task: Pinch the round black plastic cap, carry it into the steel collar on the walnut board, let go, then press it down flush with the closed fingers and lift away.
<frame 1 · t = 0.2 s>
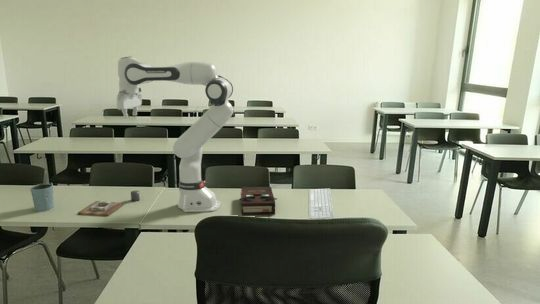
hand: (130, 116, 196), 47 cm above the table, tool pointing down, fingers open, 8 cm apart
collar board: (101, 209, 196), on the table
keyboard: (320, 205, 208), on the table
blue cup: (44, 208, 197), on the table
black cap: (135, 200, 210), on the table
decorative book: (257, 206, 204), on the table
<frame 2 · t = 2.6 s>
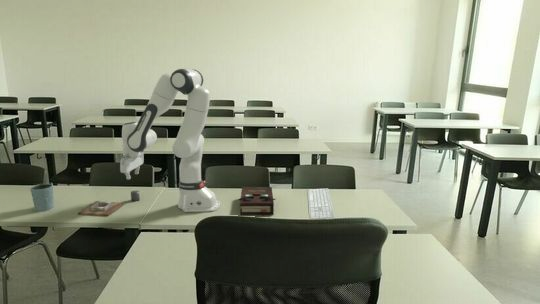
hand: (132, 176, 207), 14 cm above the table, tool pointing down, fingers open, 8 cm apart
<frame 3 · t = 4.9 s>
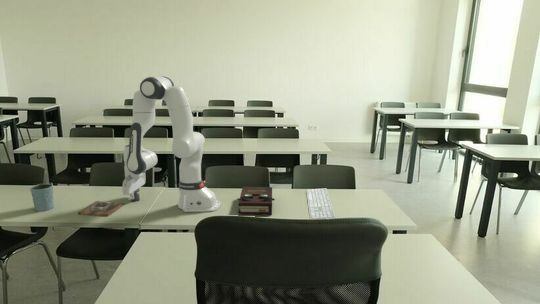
hand: (135, 197, 209), 2 cm above the table, tool pointing down, fingers closed on black cap, 4 cm apart
black cap: (135, 200, 210), on the table, touching gripper
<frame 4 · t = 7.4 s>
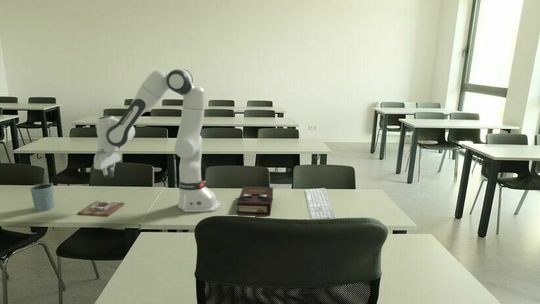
hand: (108, 173, 197), 18 cm above the table, tool pointing down, fingers closed on black cap, 4 cm apart
black cap: (109, 176, 197), point 16 cm above the table, touching gripper
when the fingers open (4 cm above the table, at t = 10.1 s): black cap stays where it is, resting on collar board.
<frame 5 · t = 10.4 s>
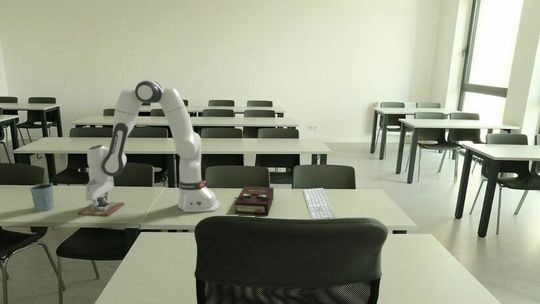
hand: (101, 202, 196), 4 cm above the table, tool pointing down, fingers open, 8 cm apart
black cap: (101, 207, 196), point 1 cm above the table, touching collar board
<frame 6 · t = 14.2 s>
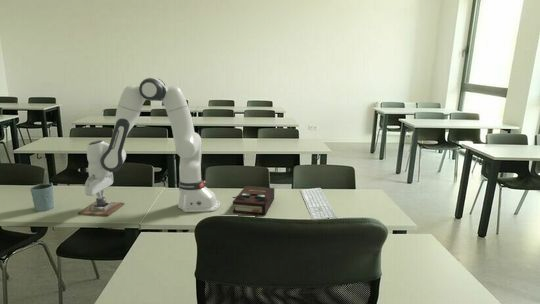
hand: (100, 198, 195), 6 cm above the table, tool pointing down, fingers closed, pressing on black cap
black cap: (101, 207, 196), point 1 cm above the table, touching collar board, gripper
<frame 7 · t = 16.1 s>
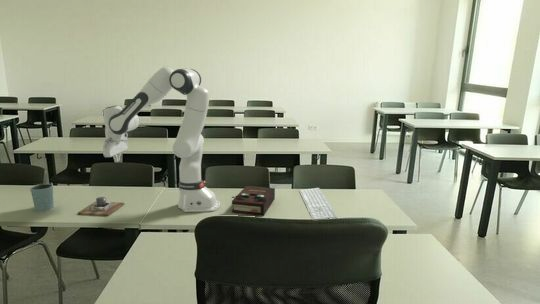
hand: (117, 161, 205), 22 cm above the table, tool pointing down, fingers closed
black cap: (101, 207, 196), point 1 cm above the table, touching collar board
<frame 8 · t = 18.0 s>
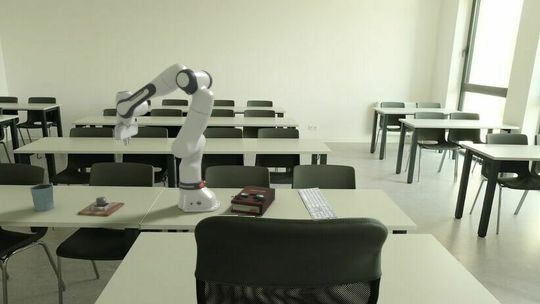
hand: (127, 145, 212), 29 cm above the table, tool pointing down, fingers closed
at the end: black cap 0.0 cm off-centre on the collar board, point 1.0 cm above the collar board's base; black cap tilted 0°; the gripper is holding nothing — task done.
